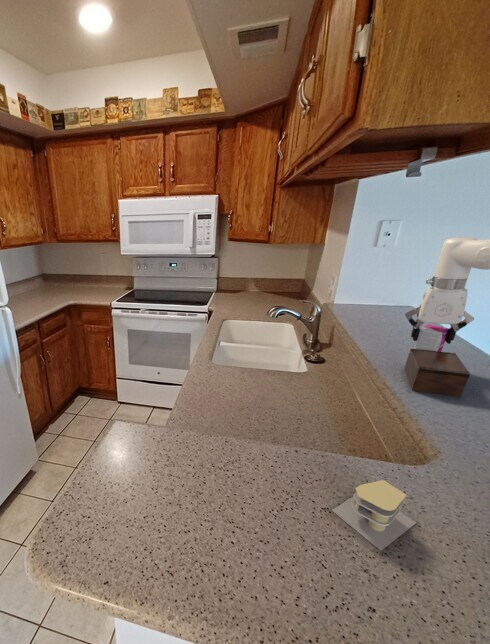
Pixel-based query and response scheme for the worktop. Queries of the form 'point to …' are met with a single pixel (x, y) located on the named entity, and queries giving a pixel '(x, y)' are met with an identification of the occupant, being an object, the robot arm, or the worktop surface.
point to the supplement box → (431, 338)
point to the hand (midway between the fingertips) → (430, 340)
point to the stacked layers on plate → (376, 513)
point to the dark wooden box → (436, 372)
